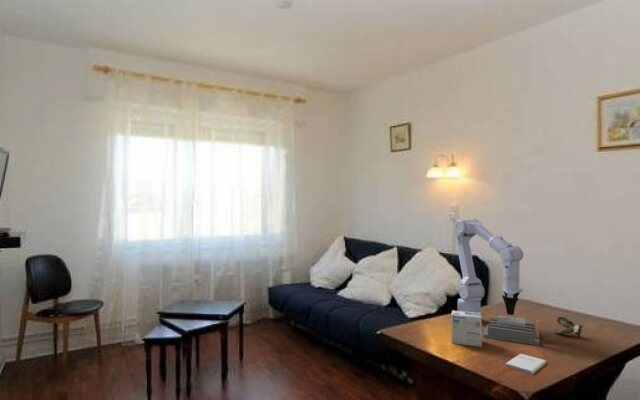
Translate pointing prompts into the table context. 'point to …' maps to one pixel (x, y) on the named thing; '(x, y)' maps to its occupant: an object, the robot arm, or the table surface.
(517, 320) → the panel
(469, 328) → the light bulb box
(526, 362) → the external hard drive
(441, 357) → the table surface
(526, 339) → the slot rack
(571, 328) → the eagle figurine
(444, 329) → the table surface
